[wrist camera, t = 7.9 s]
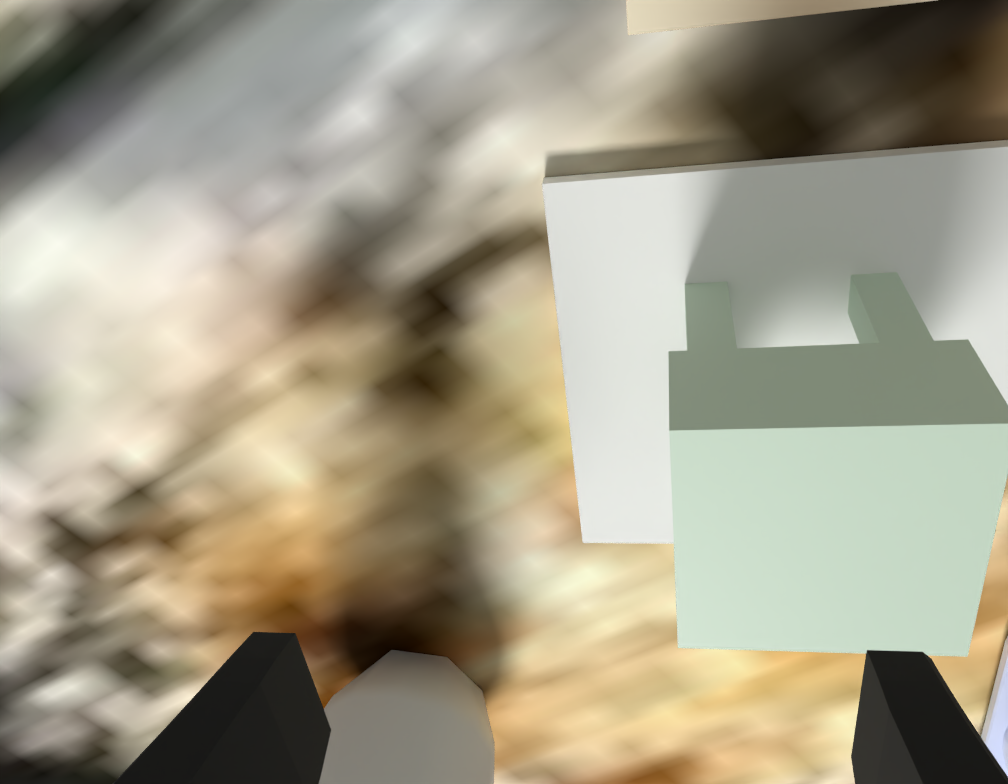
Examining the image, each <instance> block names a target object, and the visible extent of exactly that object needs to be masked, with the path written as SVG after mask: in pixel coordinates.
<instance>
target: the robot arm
mask: <svg viewBox="0 0 1008 784" xmlns="http://www.w3.org/2000/svg"><path fill="white" fill-rule="evenodd" d="M330 733H331V728H330V725H329V722H328V720H327V717H326V714H325V712H324V709H323V706H322V704H321V701H320V698H319V696H318V693H317V690H316V687H315V685H314V682H313V679H312V677H311V674H310V671H309V669H308V666H307V663H306V661H305V658H304V655H303V653H302V650H301V647H300V645H299V642H298V639H297V637H296V634H295V633H267V632H253V633H252V634H251V635H250V636H249V637H248V638H247V639H246V640H245V642H244V643H243V644H242V645H241V646H240V647H239V648H238V649H237V650H236V651H235V652H234V653H233V654H232V655H231V657H230V658H229V659H228V660H227V661H226V662H225V663H224V664H223V665H222V666H221V668H220V669H219V670H218V671H217V672H216V673H215V674H214V675H213V676H212V677H211V679H210V680H209V681H208V682H207V683H206V684H205V685H204V686H203V687H202V688H201V690H200V691H199V692H198V693H197V694H196V695H195V696H194V697H193V698H192V700H191V701H190V702H189V703H188V704H187V705H186V706H185V707H184V708H183V709H182V710H181V712H180V713H179V714H178V715H177V716H176V717H175V718H174V719H173V720H172V721H171V723H170V724H169V725H168V726H167V727H166V728H165V729H164V730H163V731H162V732H161V733H160V734H159V735H158V736H157V737H156V739H155V740H154V741H153V742H152V743H151V744H150V745H149V746H148V747H147V748H146V749H145V750H144V751H143V752H142V753H141V754H140V756H139V757H138V758H137V759H136V760H135V761H134V762H133V763H132V764H131V765H130V766H129V767H128V768H127V769H126V770H125V771H124V772H123V774H122V775H121V776H120V777H119V778H118V779H117V780H116V781H115V782H114V783H113V784H319V781H320V777H321V773H322V768H323V764H324V760H325V755H326V751H327V746H328V742H329V738H330ZM851 758H852V765H853V772H854V778H855V784H1008V637H1007V638H1006V640H1005V644H1004V648H1003V652H1002V656H1001V660H1000V664H999V668H998V672H997V676H996V680H995V684H994V688H993V692H992V696H991V699H990V703H989V707H988V711H987V715H986V719H985V723H984V727H983V731H982V735H981V737H980V735H979V734H978V732H977V731H976V729H975V728H974V726H973V725H972V723H971V722H970V720H969V719H968V717H967V716H966V714H965V713H964V711H963V710H962V708H961V706H960V705H959V703H958V702H957V700H956V699H955V697H954V695H953V694H952V692H951V691H950V689H949V687H948V686H947V684H946V683H945V681H944V679H943V678H942V676H941V674H940V673H939V671H938V669H937V668H936V666H935V664H934V663H933V661H932V659H931V658H930V657H928V656H927V655H926V654H925V653H924V652H916V651H882V650H867V653H866V660H865V666H864V673H863V680H862V687H861V694H860V701H859V707H858V714H857V721H856V728H855V735H854V742H853V749H852V755H851Z"/></svg>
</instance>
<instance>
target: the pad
mask: <svg viewBox="0 0 1008 784" xmlns="http://www.w3.org/2000/svg"><path fill="white" fill-rule="evenodd" d="M542 187H543V196H544V205H545V214H546V223H547V231H548V240H549V249H550V258H551V267H552V275H553V284H554V293H555V302H556V311H557V320H558V328H559V337H560V346H561V355H562V364H563V372H564V381H565V390H566V399H567V408H568V416H569V425H570V434H571V443H572V452H573V461H574V469H575V478H576V487H577V496H578V505H579V513H580V522H581V531H582V540H583V543H674V536H673V511H672V486H671V462H670V437H669V358H668V351H686V350H687V341H686V319H685V284H692V283H710V282H728V289H729V296H730V303H731V310H732V317H733V324H734V331H735V338H736V345H737V348H762V347H787V346H813V345H838V344H859V341H858V339H857V336H856V334H855V331H854V328H853V326H852V323H851V321H850V318H849V315H848V302H849V291H850V279H851V275H855V274H873V273H892V272H897V273H898V275H899V277H900V279H901V280H902V282H903V284H904V286H905V288H906V290H907V292H908V294H909V295H910V297H911V299H912V301H913V303H914V305H915V307H916V308H917V310H918V312H919V314H920V316H921V318H922V320H923V322H924V323H925V325H926V327H927V329H928V331H929V333H930V335H931V336H932V338H933V340H934V341H939V340H965V339H968V340H969V342H970V343H971V345H972V347H973V348H974V350H975V352H976V353H977V355H978V357H979V358H980V360H981V361H982V363H983V365H984V366H985V368H986V370H987V371H988V373H989V375H990V376H991V378H992V380H993V381H994V383H995V385H996V386H997V388H998V390H999V391H1000V393H1001V394H1002V396H1003V398H1004V399H1005V401H1006V403H1007V404H1008V140H1001V141H988V142H976V143H964V144H951V145H939V146H927V147H915V148H902V149H890V150H878V151H865V152H853V153H841V154H828V155H816V156H804V157H791V158H779V159H767V160H754V161H742V162H730V163H718V164H705V165H693V166H681V167H668V168H656V169H644V170H631V171H619V172H607V173H594V174H582V175H570V176H557V177H545V178H544V180H543V183H542Z"/></svg>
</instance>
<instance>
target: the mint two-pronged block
mask: <svg viewBox="0 0 1008 784" xmlns="http://www.w3.org/2000/svg"><path fill="white" fill-rule="evenodd" d="M848 315H849V318H850V321H851V323H852V326H853V328H854V331H855V334H856V336H857V339H858V341H859V344H838V345H813V346H787V347H762V348H737V345H736V338H735V331H734V324H733V317H732V310H731V303H730V296H729V289H728V282H710V283H692V284H685V319H686V341H687V350H686V351H668V358H669V437H670V462H671V486H672V511H673V536H674V560H675V585H676V610H677V634H678V648H698V649H731V650H765V651H799V652H832V653H867V650H882V651H916V652H924V653H925V654H926V655H933V656H968V652H969V647H970V643H971V638H972V634H973V629H974V625H975V620H976V616H977V611H978V606H979V602H980V597H981V593H982V588H983V584H984V579H985V575H986V570H987V566H988V561H989V557H990V552H991V548H992V543H993V539H994V534H995V529H996V525H997V520H998V516H999V511H1000V507H1001V502H1002V498H1003V493H1004V489H1005V484H1006V480H1007V475H1008V404H1007V403H1006V401H1005V399H1004V398H1003V396H1002V394H1001V393H1000V391H999V390H998V388H997V386H996V385H995V383H994V381H993V380H992V378H991V376H990V375H989V373H988V371H987V370H986V368H985V366H984V365H983V363H982V361H981V360H980V358H979V357H978V355H977V353H976V352H975V350H974V348H973V347H972V345H971V343H970V342H969V340H968V339H965V340H939V341H934V340H933V338H932V336H931V335H930V333H929V331H928V329H927V327H926V325H925V323H924V322H923V320H922V318H921V316H920V314H919V312H918V310H917V308H916V307H915V305H914V303H913V301H912V299H911V297H910V295H909V294H908V292H907V290H906V288H905V286H904V284H903V282H902V280H901V279H900V277H899V275H898V273H897V272H892V273H873V274H855V275H851V279H850V291H849V302H848Z"/></svg>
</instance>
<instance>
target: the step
mask: <svg viewBox="0 0 1008 784" xmlns="http://www.w3.org/2000/svg"><path fill="white" fill-rule="evenodd" d="M927 1H936V0H626V9H627V28H628V35H635V34H644V33H653V32H662V31H670V30H679V29H688V28H697V27H706V26H715V25H724V24H732V23H741V22H750V21H759V20H768V19H777V18H785V17H794V16H803V15H812V14H821V13H830V12H839V11H847V10H856V9H865V8H874V7H883V6H892V5H900V4H909V3H918V2H927Z"/></svg>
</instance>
